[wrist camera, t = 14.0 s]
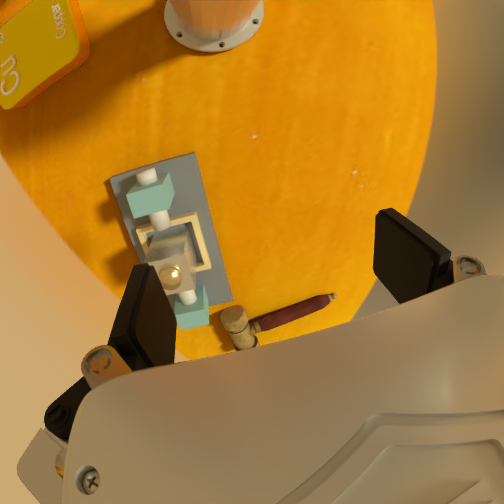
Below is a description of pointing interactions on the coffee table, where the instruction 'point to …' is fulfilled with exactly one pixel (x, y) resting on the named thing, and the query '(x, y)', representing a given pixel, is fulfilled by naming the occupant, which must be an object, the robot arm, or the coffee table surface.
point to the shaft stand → (171, 217)
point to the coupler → (173, 260)
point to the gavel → (266, 320)
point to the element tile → (40, 49)
